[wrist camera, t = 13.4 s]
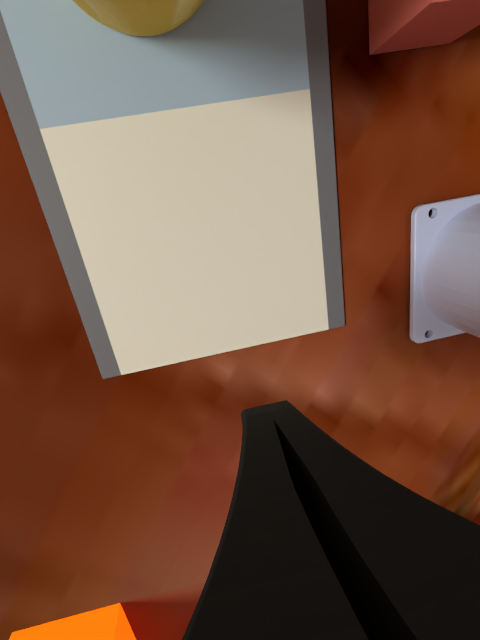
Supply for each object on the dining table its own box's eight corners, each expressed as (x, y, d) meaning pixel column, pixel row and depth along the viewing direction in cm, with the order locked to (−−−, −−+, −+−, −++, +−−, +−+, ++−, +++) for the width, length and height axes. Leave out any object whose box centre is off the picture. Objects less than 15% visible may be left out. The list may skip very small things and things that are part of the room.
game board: (304, -329, 11) (305, -333, 11) (344, 325, 19) (344, 325, 19) (-143, -316, 10) (-147, -322, 10) (103, 378, 18) (102, 378, 18)
